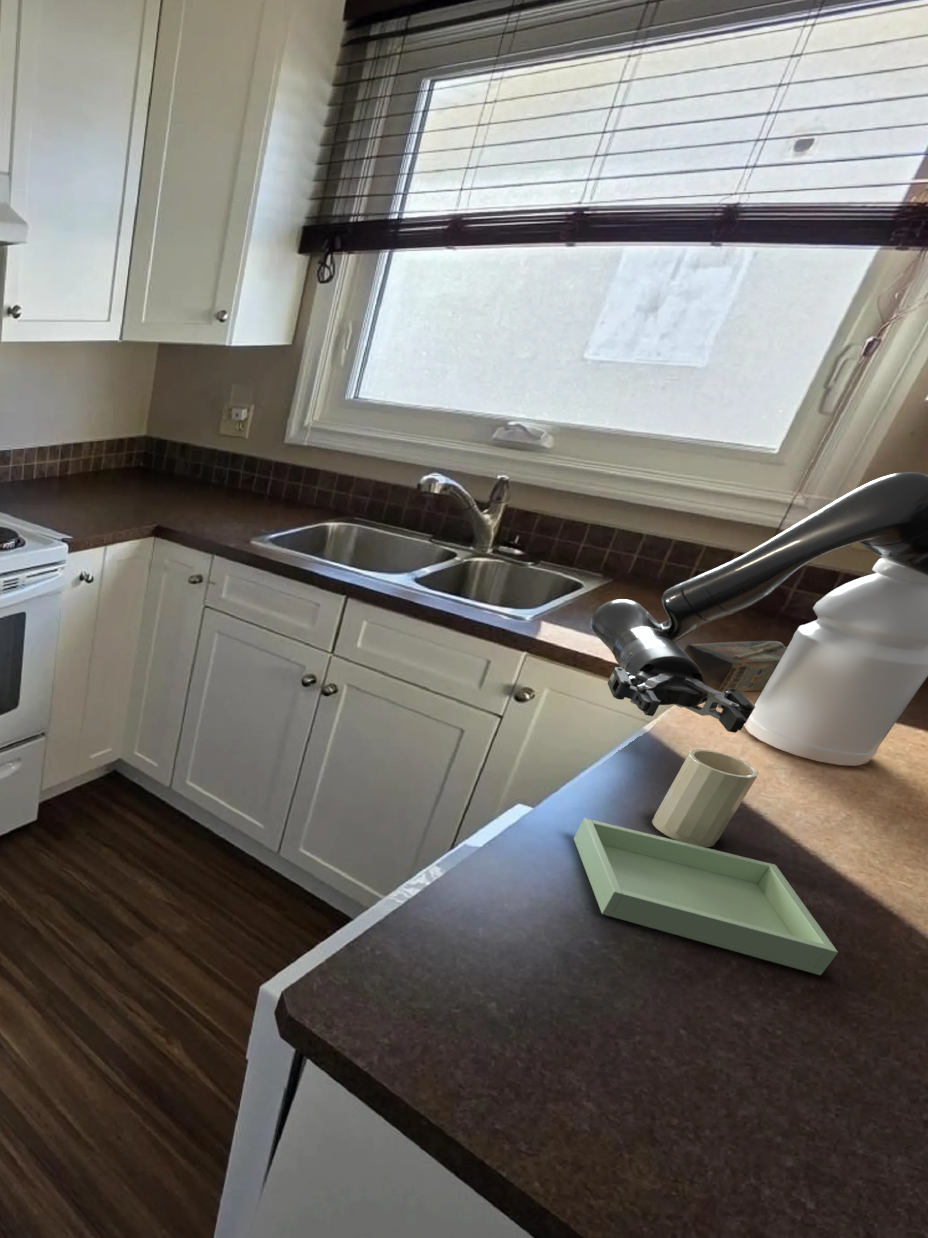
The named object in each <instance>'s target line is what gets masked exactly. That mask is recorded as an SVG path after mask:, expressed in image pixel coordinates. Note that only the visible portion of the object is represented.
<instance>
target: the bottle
mask: <svg viewBox="0 0 928 1238" xmlns="http://www.w3.org/2000/svg"><path fill="white" fill-rule="evenodd" d="M872 566H873V567H872V568H871V570H872V571H873V572H874V573H872V574H868V575H865V576H861V577H859V578H856V579H853V580H851V581H848V582H846V583H844V584H841V585H840V586H838V587H836V588H834V589H833V590H831V591H830V592H828V593H827V594H825V595H824V596H823V597H822V598H821V599H819V600H818V601H817V602H815V604H814V606H813V607H812V610H813V612H814V613H815V615H816V616H817V619H816V620H813V621H810V622H808V623H805V624H801V625H799V626H798V627H797V629H796V630H795V632H794V634H793V636H792V638H791V640H790V642H789V644H788V646H786V647H787V649H786V651H785V653H784V655H783V656H782V658H781V660H780V662H779V663H778V665H777V667H776V669H775V670H774V672H773V674H772V675H771V677H770V679H769V681H768V682H767V684H766V686H765V688H764V689H763V690H761V693H760V694H759V697H758V699H757V700H756V702H755V704H753V705H754V706H755V708H754V710H753V711H752V713H751V715H750V717H749V718H748V720H747V722H746V723H745V724H744V725H743V727H744V728H745V729H746V732H748V733H749V734H750V735H752V736H753V737H755V738H756V739H758V740H759V741H761V742H763V743H765V744H767V745H769V746H771V747H773V748H776V749H777V750H778V749H779V750H781V751H783V752H786V753H789V754H792V755H795V756H797V757H800V758H801V757H802V758H803V759H804V758H805V759H807V760H812V761H816V762H819V763H824V764H825V763H826V764H831V765H837V766H854V767H855V766H856V767H857V766H861V765H865V764H867V763H869V762H870V761H871V759H873V758H874V757H875V756H876V755H877V752H878V749H879V747H880V746H881V744H882V743H883V741H884V740H885V739H886V737H887V736H888V735H889V733H890V731H891V730H892V728H894V726H895V724H896V723H897V721H898V720H899V718H900V717H901V716H902V714H903V713H904V711H905V710H906V708H907V707H908V705H909V703H910V702H911V701H912V699H913V698H914V697H915V695H916V694H917V692H918V690H919V689H920V688H921V686H922V685H923V683H924V682H925V681H926V679H927V678H928V576H927V575H925V574H922V573H920V572H917V571H915V570H912V569H910V568H907V567H904V566H902V565H899V564H896V563H894V562H891V561H889V560H886V559H884V558H882V557H879V559H878V560H877V561H876V562H875V563H874V565H872Z"/></svg>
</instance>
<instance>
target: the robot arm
mask: <svg viewBox="0 0 928 1238" xmlns="http://www.w3.org/2000/svg"><path fill="white" fill-rule="evenodd" d="M856 543H859V544H860V545H862V547H864V548H866V549H867V550H868V551H870V552H871V553H873V554H874V555H875V556H877V557H879V558H884V559H886V560H889V561H891V562H894V563H896V564H899V565H902V566H904V567H907V568H910V569H912V570H915V571H917V572H920V573H922V574H925V575H927V576H928V474H926V473H921V472H916V471H904V472H903V471H902V472H896V473H892V474H888V475H884V476H881V477H878V478H875V479H872V480H871V481H868V482H867V483H864V484H862V485H860V486H858V487H856V488H855V489H853V490H851V491H849V492H847V493H846V494H844V495H842V496H841V497H839V498H838V499H835V500H834V501H833V502H831V503H829V504H827V505H825V506H824V507H822V508H821V509H819V510H817V511H816V512H814V513H812V514H810V515H809V516H807V517H806V518H803V519H802V520H800V521H798V522H797V523H795V524H793V525H792V526H790V527H789V528H786V529H785V530H783V531H781V532H780V533H778V534H776V535H775V536H773V537H772V538H770V539H768V540H767V541H765V542H763V543H761V544H760V545H758V546H756V547H754V548H752V549H751V550H749V551H747V552H745V553H743V554H741V555H740V556H738V557H736V558H734V559H732V560H729V561H728V562H726V563H723V564H721V565H719V566H717V567H714V568H712V569H710V570H708V571H705V572H703V573H700V574H698V575H696V576H694V577H691V578H689V579H686V580H685V581H683V582H680V583H678V584H675V585H674V586H671V587H669V588H668V589H665V590H664V592H663V593H662V595H661V604H662V606H663V609H664V612H666V614H667V617H668V619H666V620H665V621H663V622H661V623H660V622H658V621H657V620H656V619H655V618H654V617H653V616H652V615H651V614H650V613H649V612H648V611H647V609H646V608H644V607H643V606H642V605H641V604H640V603H639V602H638V601H636V600H632V599H627V598H619V599H618V598H617V599H613V600H609V601H607V602H605V603H604V604H601V606H599V607H598V608H597V609H596V610H595V611H594V612H593V614H592V616H591V618H590V628H591V631H592V632H593V633H594V634H595V635H596V637H598V639H599V640H600V641H601V642H602V643H603V644H604V645H605V646H606V647H607V649H609V651H610V652H611V653H612V654H613V656H614V659H615V661H616V663H617V665H619V667H618V666H616V667H614V668H613V671H612V672H611V675H610V677H609V679H608V680H607V687H608V688H609V690H610V693H611V695H612V697H613V698H614V699H616V700H621V701H623V700H624V699H629V700H630V701H629V702H630V703H631V704H634V705H636V707H637V708H638V709H639V710H640V711H642V712H643V713H644V715H645V716H648V717H654V716H655V714H656V712H657V710H658V708H659V706H671V705H674V706H676V707H679V708H684V709H687V710H689V711H691V712H694V713H695V714H698V715H700V716H702V717H706V716H710V717H712V718H715V719H717V720H718V721H719V722H720V724H721V725H722V727H724V729H725V730H726V731H727V732H729V733H733V734H737V732H738V731H742V729H743V727H744V724H745V723H746V722H747V720H748V718H749V717H750V715H751V713H752V711H753V710H754V708H755V706H754V705H755V704H753V703H752V702H751V701H750V700H749V699H747V697H746V696H745V695H743V694H742V692H739V691H738V690H736V689H733V688H727V689H726V691H725V693H722V692H719V691H717V690H714V689H712V688H711V687H709V686H707V685H705V684H704V683H703V677H702V673H701V670H700V669H699V667H698V666H697V665H696V664H695V662H694V661H693V660H692V659H691V658H690V657H689V655H688V654H687V653H686V652H685V651H684V649H683V648H682V647H681V646H680V645H679V644H677V642H678V641H679V640H681V639H682V638H683V639H684V637H686V636H688V635H689V634H691V633H693V632H694V631H695V630H697V629H699V628H701V627H703V626H705V625H707V624H711V623H712V622H715V621H718V620H721V619H723V618H725V617H728V616H731V615H732V614H736V613H738V612H741V611H743V610H745V609H747V608H749V607H751V606H753V605H755V604H756V603H758V602H761V601H762V600H764V598H766V597H768V596H769V595H771V593H773V592H774V591H775V590H776V589H777V588H778V587H779V586H781V585H782V583H784V582H785V581H786V580H787V579H789V578H790V577H791V576H792V575H793V574H795V572H797V570H799V569H801V568H802V567H804V566H805V565H806V564H809V563H810V562H811V561H814V560H815V559H817V558H819V557H821V556H823V555H826V554H828V553H830V552H832V551H835V550H837V549H841V548H844V547H847V546H849V545H852V544H856ZM702 704H703V706H699V705H702ZM717 708H718V709H722V710H721V712H720V711H718V710H717Z"/></svg>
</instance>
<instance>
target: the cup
mask: <svg viewBox="0 0 928 1238" xmlns="http://www.w3.org/2000/svg"><path fill="white" fill-rule="evenodd" d="M758 775H759V771H758V770H757V769H756V768H755V766H752V765H751V764H750V763H748V762H746V761H744V760H742V759H740V758H738V757H735V756H733V755H730V754H726V753H724V752H720V751H715V750H710V749H703V748H702V749H700V748H698V749H697V748H696V749H692V750H690V751H689V753H688V754H687V756H686V758H685V760H684V762H683V763H682V765H681V767H680V769H679V770H678V773H677V775H676V776H675V778H674V779H673V782H672V783H671V785H670V787H669V789H668V790H667V792H666V794H665V796H664V797H663V799H662V801H661V803H660V805H659V807H658V808H657V810H656V812H655V814H654V816H653V817H652V820H651V824H652V825H653V827H655V829H656V830H657V831H659V832H660V833H662V834H663V835H665V836H667V837H669V838H670V839H672V840H676V841H680V842H684V843H688V844H693V845H697V846H701V847H705V848H710V847H715V845H716V844H717V842H718V841H719V840H720V838H721V837H722V835H723V833H724V831H725V829H726V828H727V827H728V825H729V823H730V822H731V820H732V819H733V817H734V815H735V814H736V812H737V810H738V809H739V807H740V805H741V804H742V802H743V800H744V799H745V797H746V795H747V794H748V792H749V791H750V789H751V787H752V786H753V784H754V783H755V781H756V780H757V778H758Z"/></svg>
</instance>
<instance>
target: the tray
mask: <svg viewBox="0 0 928 1238" xmlns="http://www.w3.org/2000/svg"><path fill="white" fill-rule="evenodd" d="M573 842H574V843H575V846H576V849H577V851H578V854H579V857H580V859H581V863H582V865H583V868H584V870H585V873H586V876H587V877H588V881H589V883H590V886H591V888H592V892H593V894H594V896H595V900H596V902H597V904H598V907H599V911H600V913H601V915H604V916H606V917H611V918H614V919H618V920H622V921H625V922H628V923H632V924H636V925H639V926H642V927H647V928H650V929H654V930H658V931H659V932H660V931H661V932H663V933H668V934H671V935H675V936H678V937H682V938H686V939H689V940H693V941H696V942H699V943H703V944H708V945H710V946H714V947H718V948H722V949H725V950H729V951H732V952H735V953H739V954H742V955H747V956H749V957H753V958H757V959H760V960H764V961H768V962H772V963H775V964H778V965H782V966H786V967H789V968H793V969H796V970H800V971H802V972H803V971H804V972H808V973H811V974H814V975H817V976H822V974H823V973H824V971H826V970H827V968H828V967H829V965H830V964H831V963H832V962H833V960H834V959H835V957H836V956H837V955H838V954H839V951H838V950H837V949H836V947H835V946H834V944H833V943H832V941H831V940H830V938H829V937H828V936H827V934H826V933H825V932H824V930H823V929H822V928H821V926H820V924H819V923H818V922H817V921H816V919H815V918H814V917H813V915H812V914H811V912H810V911H809V909H808V907H807V906H806V905H805V904H804V903H803V901H802V900H801V898H800V897H799V895H798V894H797V893H796V891H795V890H794V888H793V887H792V886H791V884H790V883H789V881H788V880H787V879H786V877H785V876H784V875H783V873H782V872H781V870H780V869H779V868H778V865H777V864H774V863H770V862H766V861H761V860H757V859H753V858H749V857H744V856H742V855H741V856H740V855H738V854H733V853H729V852H725V851H721V850H717V849H713V848H710V847H701V846H697V845H693V844H688V843H684V842H680V841H677V840H675V839H673V838H668V837H663V836H660V835H656V834H651V833H647V832H643V831H640V830H634V829H630V828H627V827H623V826H619V825H615V824H612V823H611V824H610V823H606V822H602V821H598V820H594V819H589V818H586V817H584V818H583V819H582V822H580V825H579V827H578V829H577V830H576V833H575V835H574V837H573Z"/></svg>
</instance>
